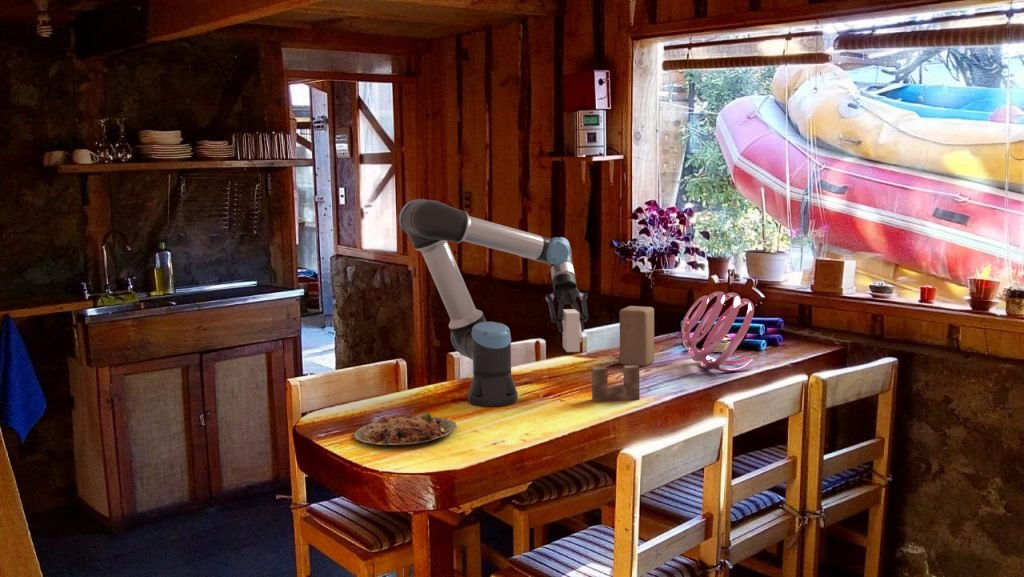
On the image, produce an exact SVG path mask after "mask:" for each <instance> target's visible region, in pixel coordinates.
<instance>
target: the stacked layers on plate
mask: <svg viewBox="0 0 1024 577" xmlns="http://www.w3.org/2000/svg"><path fill="white" fill-rule="evenodd" d="M729 340H731V338H730V337H726V336H725V337H724V338H723V340H722V341H721V342H720V344H719V345H718V346H717V347H716V348H715V349H714V350H713V351H712V353H714V352H722V353H723V352H724V351H725V350H726V349H727V347H728V346H729V345H730V343H731V342H732V341H729ZM722 353H721V354H722Z"/></svg>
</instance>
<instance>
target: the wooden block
mask: <svg viewBox="0 0 1024 577" xmlns="http://www.w3.org/2000/svg"><path fill="white" fill-rule="evenodd" d="M654 361H655V308H654V307H652V306H638V305H629V306H626V307H624V308H622V309H620V310H619V364H621V365H623V366H628V365H637V366H639V367H647V366H648V365H650V364H652V363H653V362H654Z"/></svg>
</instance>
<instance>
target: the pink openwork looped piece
mask: <svg viewBox="0 0 1024 577" xmlns="http://www.w3.org/2000/svg"><path fill="white" fill-rule="evenodd" d="M714 297H716V301H715V302H714V303H713V304H712V305H711V307H709V309H708V310H707V312H705V311H706V309H707V307H708V304H709V302H710V301H712V299H713V298H714ZM731 298H732V300H733V301H732V304H731V305H730V306H729V307H728V308H727V309H726V310H725V311H724V312H723V313H722V314H721V311H722V309H723V306H724V304H725V302H726V301H728V300H729V299H731ZM700 302H701V303H700ZM699 303H700V304H699ZM698 304H699V305H698ZM697 305H698V306H697ZM745 305H747V309H746V310H747V311H746V314H745V317H744V319H743V322H742V324H741V326H740V328H739V330H737V333H736V335H735V336H734V337H733V339H732V341H730V342H731V343H730V345H729V346H728V347H727V349H726V350H725V351H724V352H723V353H720V355H719V356H717V358H715V357H712V356H710V354H712V353H713V350H714V349H715V348H716V347H717V346H718V345H719V344H720V342H721V341H722V340H723V338H724V337H726V335H727V334H728V333H729V331H730V329H731V328H732V326H733V324H734V323H735V321H736V318H737V317H738V316H737V315H738V314H739V311H740V308H741V307H743V306H745ZM696 307H697V308H696ZM694 309H695V311H694V312H693V310H694ZM692 312H693V313H692ZM691 313H692V315H691ZM704 313H705V314H704ZM720 314H721V315H720ZM754 314H755V305H754V304H753V302H752V301H751V300H750V299H748V298H744V297H743V298H741V295H739V294H738V293H736V292H728V293H724V292H723V291H714V292H712V293H710V294H709V295H703V296H701V297H699V298H698V299H696V300H695V302H694V303H693V304H692V305H691V306H690V308H689V309H688V311H687V312H686V314H685V316H684V317H683V320H682V322H681V333H682V335H681V336H682V344H683V346H684V347H685V348H686V349H688V355H689V357H690V358H691V360H693V361H694V362H699V365H700V366H701V367H702V368H703V369H705V370H707V371H712V370H713V371H718V372H723V373H732V372H731V371H735V372H738V370H739V371H741V369H742V370H743V369H745V368H747V367H748V366H750V364H752V363H753V361H754V359H753V358H752V359H751V357H750V356H748V357H745V358H741V359H736V360H727V359H729V357H730V356H731V355H732V354H733V353H734V352H735V351H736V349H737V347H738V346H739V345H740V344H741V343H742V340H743V339H744V337H745V336H746V334H747V332H748V330H749V329H750V326H751V323H752V321H753V317H754ZM690 315H691V316H690ZM703 315H704V316H703ZM719 315H720V317H719ZM689 316H690V318H689ZM718 317H719V319H718ZM701 318H702V319H701ZM700 319H701V320H700ZM717 319H718V320H717ZM698 322H699V323H698ZM697 323H698V324H697ZM696 325H697V326H696ZM713 325H714V326H713ZM695 326H696V328H695V330H694V332H693V333H692V334H693V335H691V330H692V329H693V328H694V327H695ZM708 332H709V333H708ZM706 334H708V335H707V337H706V339H705V341H704V343H703V345H702V347H701V350H699V349H698V348H697V344H698V343H699V342H701V340H702V339H703V338H704V337H705V336H706ZM748 360H749V361H748ZM746 361H747V363H745V364H744V365H742V366H739V367H737V368H725V367H721V365H722V364H731V365H737V364H741V363H744V362H746Z"/></svg>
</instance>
